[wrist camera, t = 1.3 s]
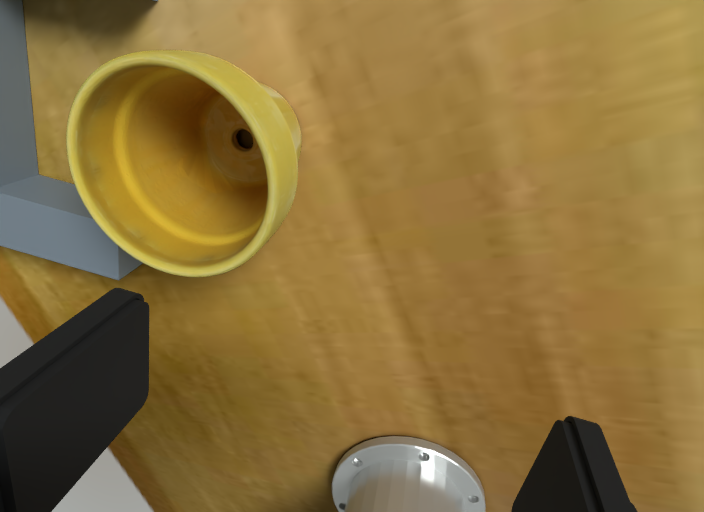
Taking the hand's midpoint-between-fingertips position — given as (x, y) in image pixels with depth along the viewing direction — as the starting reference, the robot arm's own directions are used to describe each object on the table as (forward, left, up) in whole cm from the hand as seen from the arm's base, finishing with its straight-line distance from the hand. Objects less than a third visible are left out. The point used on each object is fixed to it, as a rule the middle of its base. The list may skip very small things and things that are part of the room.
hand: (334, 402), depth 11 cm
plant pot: (0, +10, -21) cm, 23 cm away
